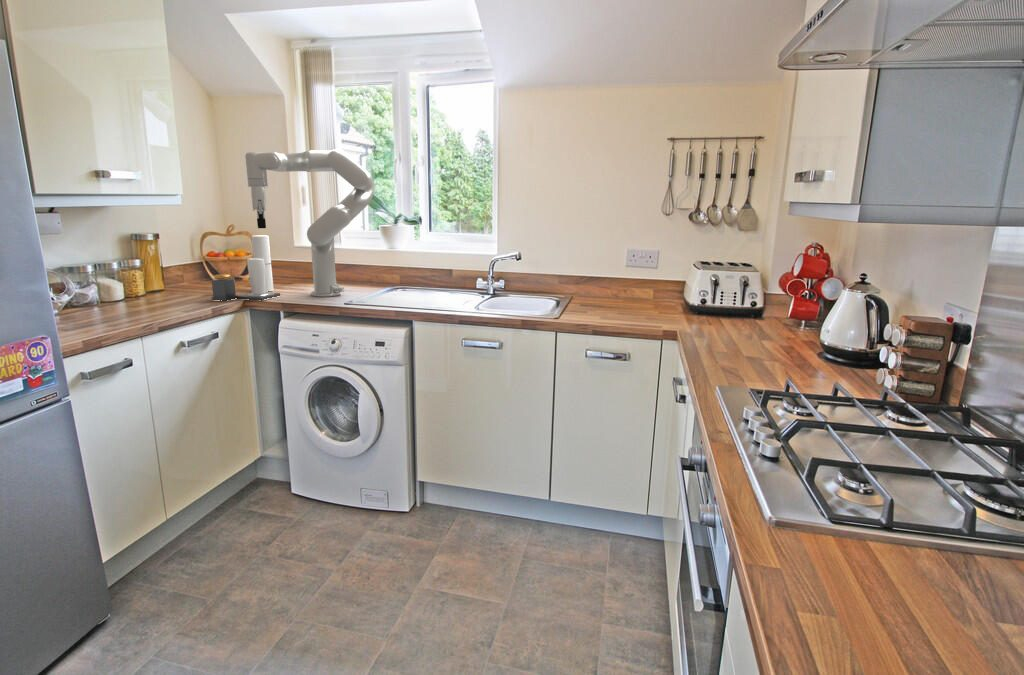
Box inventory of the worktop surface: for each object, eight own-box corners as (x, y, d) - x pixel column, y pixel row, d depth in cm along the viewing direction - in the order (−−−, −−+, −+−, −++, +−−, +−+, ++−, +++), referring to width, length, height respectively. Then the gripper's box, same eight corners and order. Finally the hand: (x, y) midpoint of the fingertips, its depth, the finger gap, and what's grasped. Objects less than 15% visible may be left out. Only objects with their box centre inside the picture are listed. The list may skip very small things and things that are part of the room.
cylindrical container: (269, 292, 258) (264, 236, 252) (253, 292, 258) (248, 236, 252) (276, 290, 265) (271, 235, 259) (260, 289, 265) (255, 235, 259)
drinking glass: (263, 292, 248) (260, 257, 245) (270, 294, 244) (267, 258, 241) (247, 294, 244) (244, 258, 240) (254, 295, 239) (251, 259, 236)
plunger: (235, 293, 241) (233, 274, 239) (225, 296, 235) (223, 276, 233) (223, 293, 242) (221, 273, 240) (213, 295, 237) (210, 275, 235)
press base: (280, 296, 249) (278, 277, 247) (253, 303, 232) (251, 282, 230) (241, 294, 253) (239, 275, 251) (211, 300, 237) (209, 280, 235)
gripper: (248, 183, 244) (252, 227, 248) (247, 183, 231) (252, 229, 235) (267, 183, 247) (270, 227, 251) (268, 183, 233) (272, 229, 238)
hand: (261, 228), depth 243 cm, fingers closed
